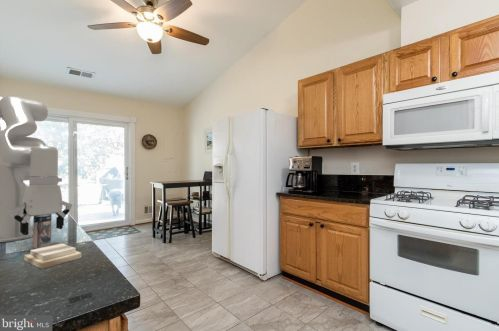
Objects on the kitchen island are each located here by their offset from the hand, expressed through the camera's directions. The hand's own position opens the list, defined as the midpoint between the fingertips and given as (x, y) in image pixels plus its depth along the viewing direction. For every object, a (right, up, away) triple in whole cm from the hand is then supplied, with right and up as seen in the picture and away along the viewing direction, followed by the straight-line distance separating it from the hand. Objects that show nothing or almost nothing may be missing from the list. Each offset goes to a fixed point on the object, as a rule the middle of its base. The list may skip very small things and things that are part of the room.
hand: (43, 231), depth 85 cm
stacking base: (+12, -6, -10) cm, 17 cm away
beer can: (-1, -6, 0) cm, 6 cm away
